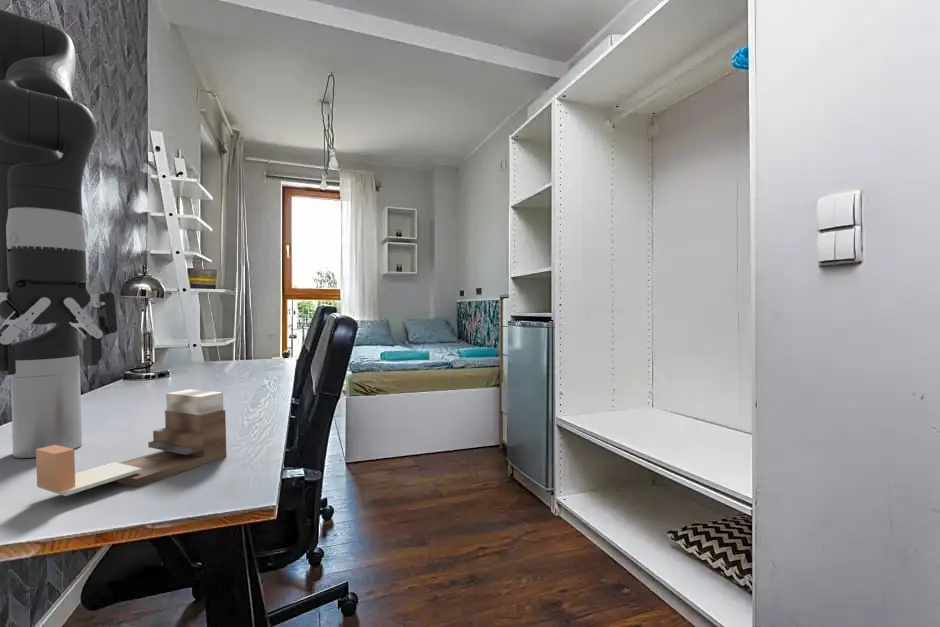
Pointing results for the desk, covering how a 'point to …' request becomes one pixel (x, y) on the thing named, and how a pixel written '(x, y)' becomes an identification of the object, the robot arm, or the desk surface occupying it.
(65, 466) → the plank with orange cube
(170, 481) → the desk surface
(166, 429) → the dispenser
